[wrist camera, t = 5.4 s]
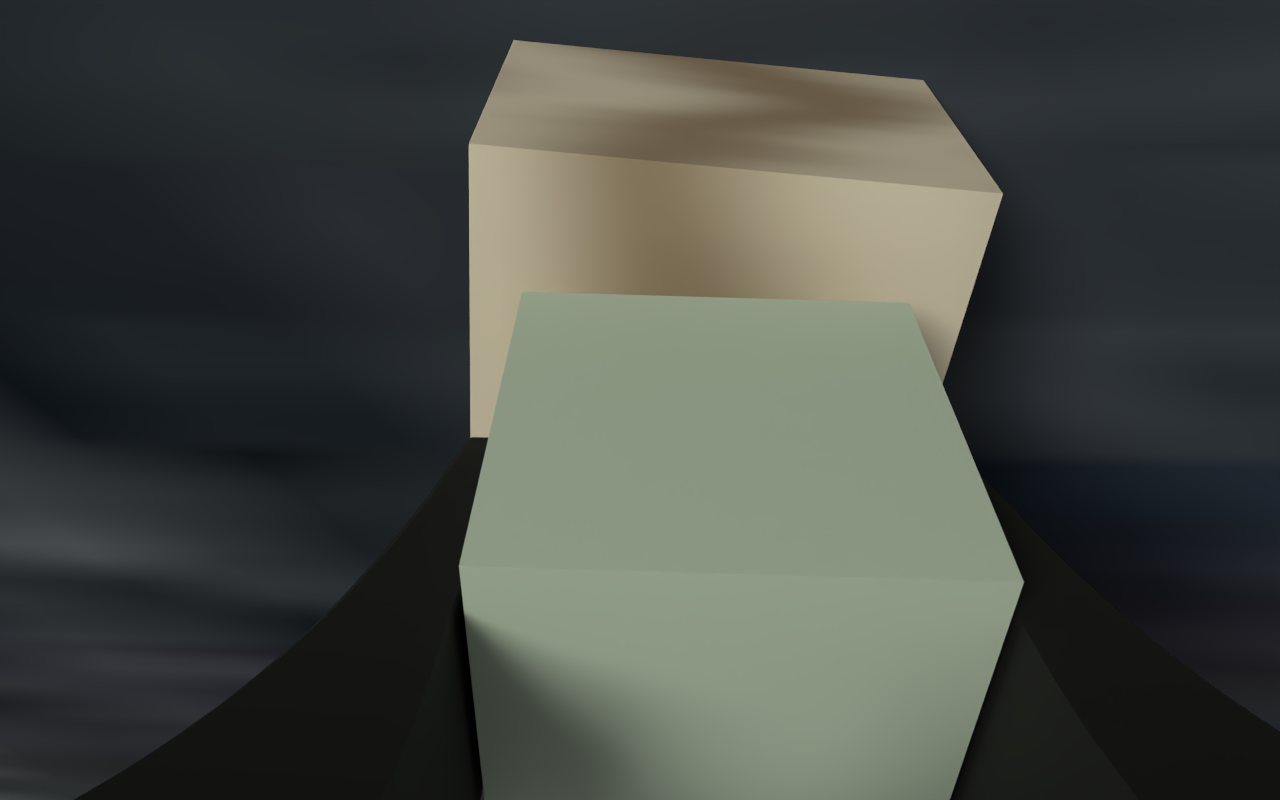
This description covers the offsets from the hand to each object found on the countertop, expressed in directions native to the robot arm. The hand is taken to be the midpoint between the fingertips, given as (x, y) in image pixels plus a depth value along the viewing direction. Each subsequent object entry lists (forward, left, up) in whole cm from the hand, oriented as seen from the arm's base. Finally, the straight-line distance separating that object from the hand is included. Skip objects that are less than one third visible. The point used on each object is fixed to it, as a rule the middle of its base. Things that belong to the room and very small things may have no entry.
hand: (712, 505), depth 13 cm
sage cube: (0, 0, -2) cm, 2 cm away
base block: (0, 0, -8) cm, 8 cm away
